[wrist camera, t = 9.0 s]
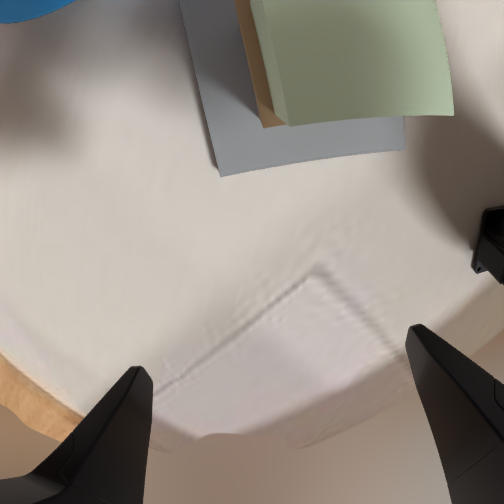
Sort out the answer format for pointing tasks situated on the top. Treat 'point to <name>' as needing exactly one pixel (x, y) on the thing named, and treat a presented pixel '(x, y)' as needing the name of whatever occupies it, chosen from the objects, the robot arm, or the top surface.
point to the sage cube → (353, 59)
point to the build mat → (246, 111)
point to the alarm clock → (28, 9)
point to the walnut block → (256, 65)
